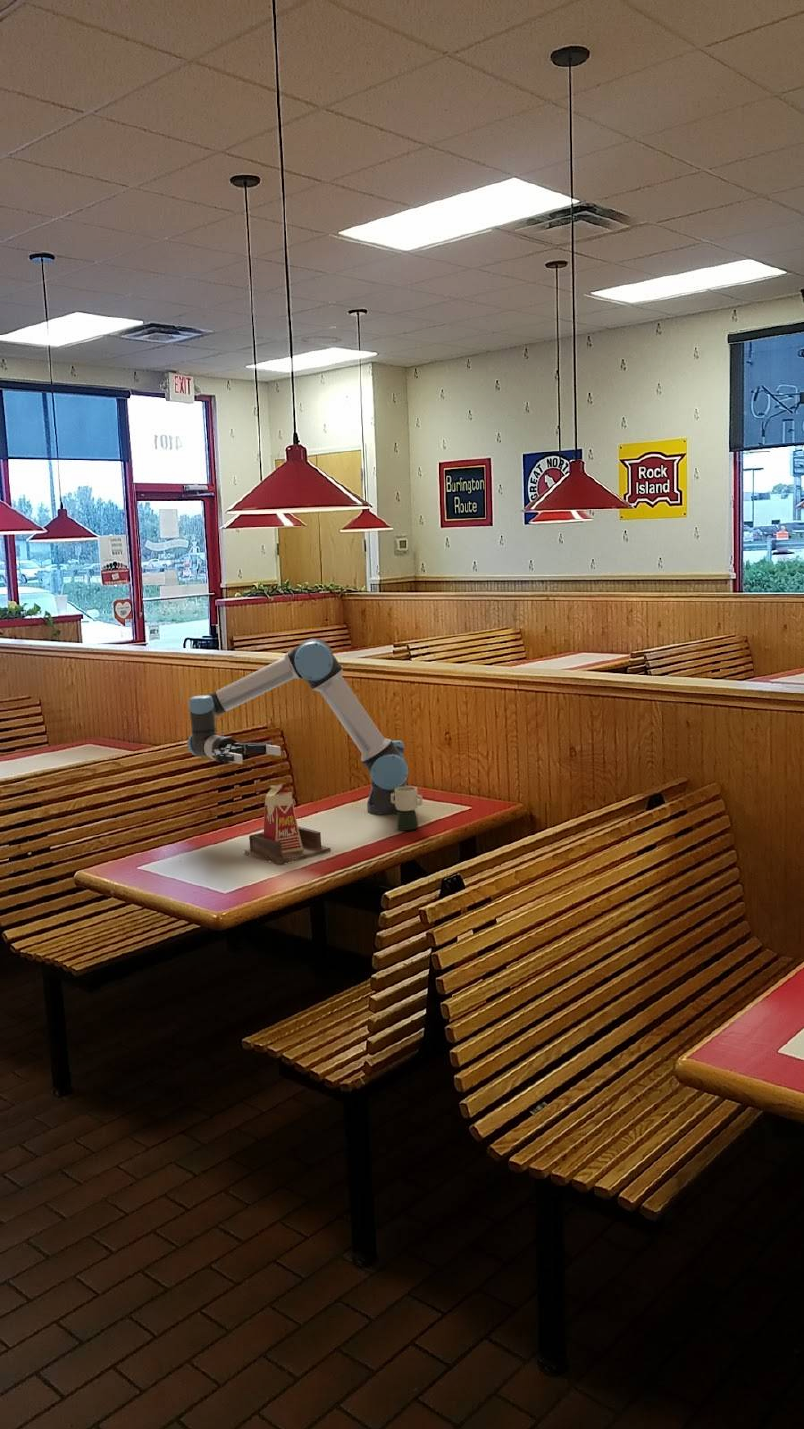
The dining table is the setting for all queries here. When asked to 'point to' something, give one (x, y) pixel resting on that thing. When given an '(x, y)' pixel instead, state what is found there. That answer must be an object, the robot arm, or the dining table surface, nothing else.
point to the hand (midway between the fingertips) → (260, 755)
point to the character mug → (406, 806)
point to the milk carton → (281, 819)
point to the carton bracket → (273, 849)
